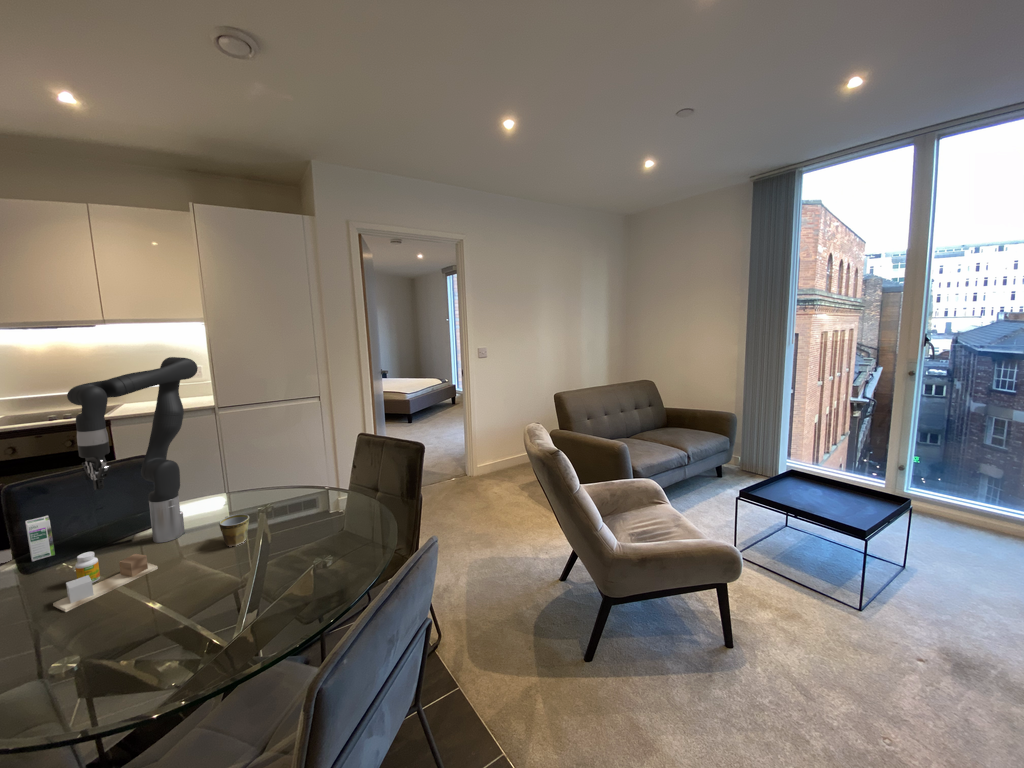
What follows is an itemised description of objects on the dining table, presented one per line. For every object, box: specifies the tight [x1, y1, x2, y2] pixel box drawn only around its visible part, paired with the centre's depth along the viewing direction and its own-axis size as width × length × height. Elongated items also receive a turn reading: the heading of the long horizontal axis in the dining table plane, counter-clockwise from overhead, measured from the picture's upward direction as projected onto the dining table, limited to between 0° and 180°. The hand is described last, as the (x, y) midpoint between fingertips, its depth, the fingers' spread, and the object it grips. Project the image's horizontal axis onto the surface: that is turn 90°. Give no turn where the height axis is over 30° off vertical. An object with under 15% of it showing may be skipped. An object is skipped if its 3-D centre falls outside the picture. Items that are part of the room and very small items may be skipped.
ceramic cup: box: [218, 513, 250, 548], centre depth 163 cm, size 13×10×10 cm
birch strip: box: [52, 562, 158, 613], centre depth 135 cm, size 24×7×1 cm, turn 160°
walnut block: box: [118, 553, 148, 577], centre depth 141 cm, size 5×5×5 cm
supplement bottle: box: [74, 551, 101, 584], centre depth 136 cm, size 5×5×10 cm
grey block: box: [65, 575, 94, 603], centre depth 128 cm, size 5×5×5 cm
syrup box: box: [24, 515, 56, 562], centre depth 150 cm, size 6×6×14 cm
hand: (99, 489), depth 142 cm, fingers closed
